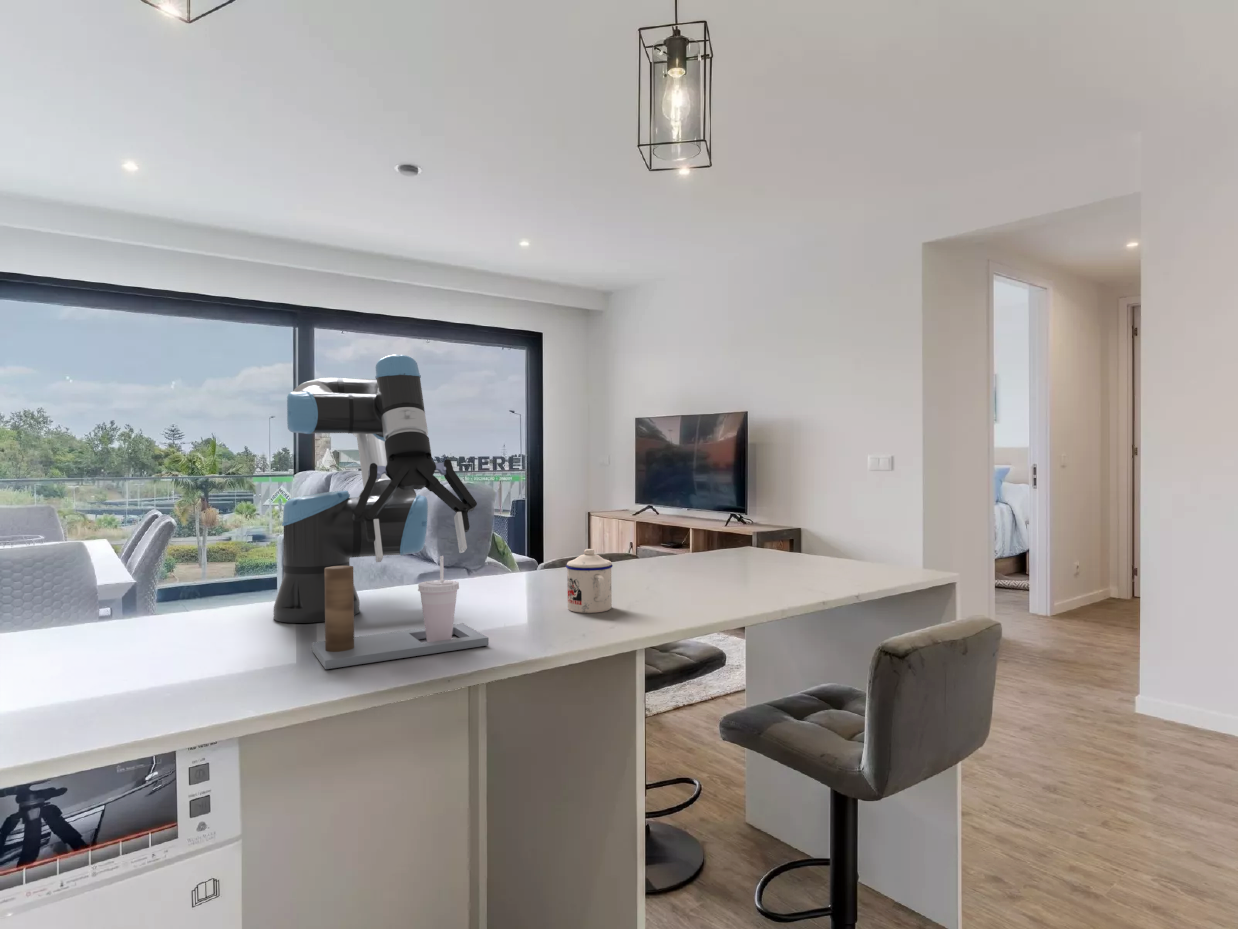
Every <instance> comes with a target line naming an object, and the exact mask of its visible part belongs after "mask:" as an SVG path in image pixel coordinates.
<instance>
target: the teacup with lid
mask: <svg viewBox="0 0 1238 929" xmlns="http://www.w3.org/2000/svg"><path fill="white" fill-rule="evenodd" d="M583 553H584V554H581V555H579V556H577V557H576V558H574V559H572V560H568V561H567V563H566V565H565V567H566V569H567V571H566V572H567V584H566V585H567V609H568V611H570V612H574V613H581V614H595V613H596V614H597V613H602V612H607V611H610V610H611V609H612V605H613V604H612V601H613V600H612V592H613V591H612V568H613V563H612V561H611V560H608V559H606V558H603V557H602V556H600V555H598V554H596V553H595V549H593V548H586V549H584V551H583Z"/></svg>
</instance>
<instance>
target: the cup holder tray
mask: <svg viewBox="0 0 1238 929" xmlns="http://www.w3.org/2000/svg"><path fill="white" fill-rule="evenodd" d="M354 582H355V580H354V566H352V565H350V566H332V567H326V568H325V621H324V638H325V639H324V640H322V641H314V642H311V651H312V652H313V654H314V655H315V656H316V658H317V660H318V661H319V663H320V664H321V665H322V667H323V668H324V669H325V670H329V669H337V668H342V667H343V668H345V667H350V666H358V665H362V664H363V665H364V664H371V663H377V662H383V661H390V660H391V661H393V660H396V659H397V660H398V659H403V658H410V657H411V658H412V657H416V656H417V657H419V656H423V655H432V654H437V653H439V654H440V653H444V652H451V651H457V650H459V651H460V650H465V649H471V648H479V647H484V646H489V644H490V642H489V637H488V636H486V635H485V634H483V633H481V632H479V631H477V630H476V629H474V628H473V627H470V626H469V625H467V624H465V623H463V622H461V623H460V622H459V623H453V631H452V636H453V635H455V636H457V638H452V639H449V640H442V641H435V642H427V641H426V642H423V643H422V641H420V640H423V639H424V640H426V639H427V638H426V631H425V627H423V628H414V629H407V630H405V629H404V630H398V631H392V632H383V633H376V634H374V633H373V634H366V635H359V636H355V615H354V586H355V584H354Z"/></svg>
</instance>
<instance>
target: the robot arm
mask: <svg viewBox="0 0 1238 929" xmlns="http://www.w3.org/2000/svg"><path fill="white" fill-rule="evenodd" d="M286 398H287V399H286V415H287V416H286V421H287V422H286V423H287V430H289V432H291V433H295V434H305V435H312V434H352V435H353V436H354V437H356V440H357V441H356V442H357V447H358V448H357V449H358V456H359V462H360V471H361V478H362V486H363V489H362V491H361V492H360V493H359V495H358V497H351V494H350V493H349V491H348V490H336V491H328V492H327V491H326V492H321V493H314V494H313V493H312V494H306V495H300V496H297V497H293V498H289V499H288V500H287V501H286V502H285V504H284V505H283V512H282V514H283V515H282V517H283V518H282V521H281V526H282V527H283V576H282V581H281V583H280V587H279V590H278V592H277V595H276V599H275V601H274V604H273V605H274V606H273V620H275V621H276V622H279V623H287V624H289V623H290V624H292V623H293V624H306V623H309V624H311V623H321V622H322V623H323V622H325V568H326V567H332V566H351V565H350V560H351V559H352V558H363V557H364V558H365V557H375V562H376V563H382V561H383V558H384V557H385V556H387V557H388V556H405V555H411V554H417V553H419V552H421V551H423V548H424V547H425V544H426V538H427V529H428V515H429V514H428V513H429V511H428V510H429V509H428V508H429V506H428V497H426V496H425V495H421V494H416V493H417V492H416V490H422V489H423V488H426V489H427V490H428V491H429V492H431V493H433V494H434V495H435V496H437V498H438V499H440V500H441V501H442V502H443V503H444V504H446V505H447V506H448V507H449V508H450V509H451V510H452V511H454V513H455V515H454V516H453V520H454V527H455V532H456V533H455V534H456V539H457V546H458V553H459V554H462V553H465V552H466V550H467V549H468V545H467V540H466V539H467V538H466V533H468V532H469V530H470V522H469V516H468V513H470V512H474V510H475V509H476V506H478V502H477V501H476V500H475V498H474V497H473V495H472V494H471V492H470V491H469V490H468V488H467V487H466V486H465V484H464V482H463V481H462V480H461V478H460V477H459V476H458V474H457V473H456V471H455V470H454V466H453V463H452V460H450V459H448V458H446V459H445V460H444V461H443V462H434V460H433V457H432V449H431V444H430V438H429V435H428V434H429V429H428V425H427V418H426V411H425V410H426V409H425V404H424V397H423V388H422V383H421V374H420V370H419V367H418V362H417V361H416V360H415V359H414V357H412V356H408V355H405V354H391V355H387V356H385V357H382V358H380V359H379V360H378V361H377V362H376V364H375V378H351V377H334V376H333V377H330V376H329V377H320V378H316V379H310V380H307V381H305V382H302V383H300V384H299V385H298V386H296V387H295V388H294V389H293V390H292V391H291V392H289V393H288V394H287V397H286ZM435 471H437V472H439V474H440V475H441V476H443V477H444V479H445V480H446V482H447V483H448V485H449V486H450V487H451V489H452V490H453V491H454V493H455V494H456V495H457V496H456V495H455V494H454V493H452V492H451V490H450V489H448V488H447V487H446V486H445V485H443V483H441V482H440V481H439V478H437V477H436V476H435V475H434V474H435ZM350 558H351V559H350ZM360 605H361V604H360V597H359V596H358V592H357V590H356V586H355V585H354V616H356V615H358V614H359V613H360V611H361V610H360V608H361V607H360Z"/></svg>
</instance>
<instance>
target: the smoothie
mask: <svg viewBox="0 0 1238 929" xmlns="http://www.w3.org/2000/svg"><path fill="white" fill-rule="evenodd" d="M444 559H445V558H444V555H440V556H439V579H438V580H437V579H436V580H435V579H434V580H427V581H422V582H419V583H418V584H417V586H418V589H417V591H418V592H419V594H420V599H421V600H420V602H421V608H422V614H423V622H424V628H425V631H426V638H425V639H426V643H427V642H435V641H442V640H449V639H453V635H452V631H453V624H454V622H455V621H454V620H455V614H456V613H455V612H456V604H457V596H458V595H457V594H458V590H459V589H460V586H459V585H460V584H459V581H457V580H454V579H453V580H452V579H444V574H445V572H444V570H445V568H444V567H445V566H444V565H445V564H444V563H445V562H444Z"/></svg>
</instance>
